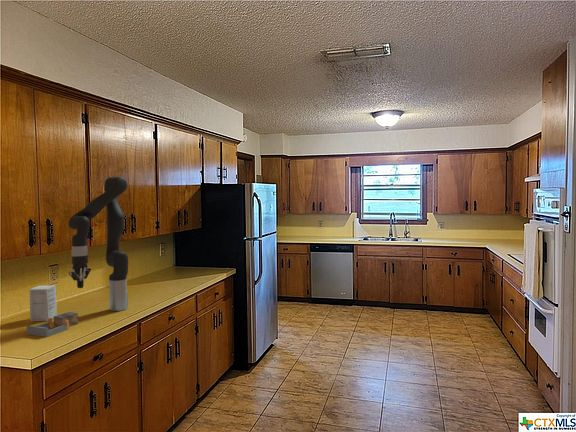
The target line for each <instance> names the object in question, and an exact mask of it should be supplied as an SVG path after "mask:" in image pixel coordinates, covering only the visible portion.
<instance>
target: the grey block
mask: <svg viewBox="0 0 576 432" xmlns="http://www.w3.org/2000/svg"><path fill="white" fill-rule="evenodd" d="M65 320H69V328H70V327H73V326H76V325H78V324H79V313H78V312H72V311H68V312H67V311H66V312H65V313H61V314H57V316H54V318H53V329H54V328H56V327H59V326H62V325H65Z"/></svg>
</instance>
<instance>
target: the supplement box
mask: <svg viewBox="0 0 576 432" xmlns="http://www.w3.org/2000/svg"><path fill="white" fill-rule="evenodd" d="M28 291H29V292H28V293H29V311H30V312H29V314H30V315H29V316H30V322H48V318H52V319H53V320H54V316H57V315H58V307H57V306H58V305H57V302H58V301H57V286H56V285H37V286H35V287H32V288H30V289H29V290H28Z"/></svg>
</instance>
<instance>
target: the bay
mask: <svg viewBox="0 0 576 432" xmlns="http://www.w3.org/2000/svg"><path fill="white" fill-rule="evenodd" d="M52 321H53V320H52V318H48V321H46V322H45V323H42V324H38V325H30V324H29V325H26V335H28V336H29V335H30V336H35V337H36V336H37V337H41V338H48V337H51V336H53V335H57V334H59V333H62V332H65V331H69V330H70V327H69V320H65V325H62V326H59V327H56V328H54V327H53V328H52V326H53V322H52Z"/></svg>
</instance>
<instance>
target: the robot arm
mask: <svg viewBox="0 0 576 432" xmlns="http://www.w3.org/2000/svg"><path fill="white" fill-rule="evenodd" d="M127 189H128V181H127V179H126V178H125V177H122V176H111V177H108V178H106V179H105V180H104V192H103V193H102V194H100V195H98V196H97V197H95V198H93V199H92V200H91V201H89V203H88V204H87V205H85V207H84V208H83V209H81V210H79V211H77V212H76V213H74V214H73V215H72V216H71V217H70V218H69V219H68V227H69V228H70V229H72V230H76V234H74V235H72V236H71V264H72V269H71V271H68V274H69V276H70V277H71V278H72V280H73V281H76V287H77V288H78V289H83V288H84V283H85V280H86V279H87V278H88V277H89V275H90V273H91V270H92V268H89V267H88V263H89V250H88V236H89V232H90V228H91V222H90V220H92V219H94V218H95V217H96V216H97V215H98V214H99V213H100V212H101V211H102V210H103V209H105V208H106V242H107V243H106V251H105V252H106V253H105V261H106V265H108V266H109V267H111V268H113V271H112V273H110V274H109V276H108V285H109V287H108V289H109V291H108V292H109V294H108V295H109V310H110V311H111V312H121V311H125V310H128V308H129V292H128V288H127V287H128V286H127V285H128V284H127V283H128V282H127V280H128V279H127V276H128V274H129V258H128V257H129V256H128V254H127V253H126V252H125V251H120V240H121V238H122V235H123V232H124V230H125V214H124V213H123V210H122V209H121V206H120V204H119V201H118V197H119V196H120V195H122V194H124V192H126V190H127Z"/></svg>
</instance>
